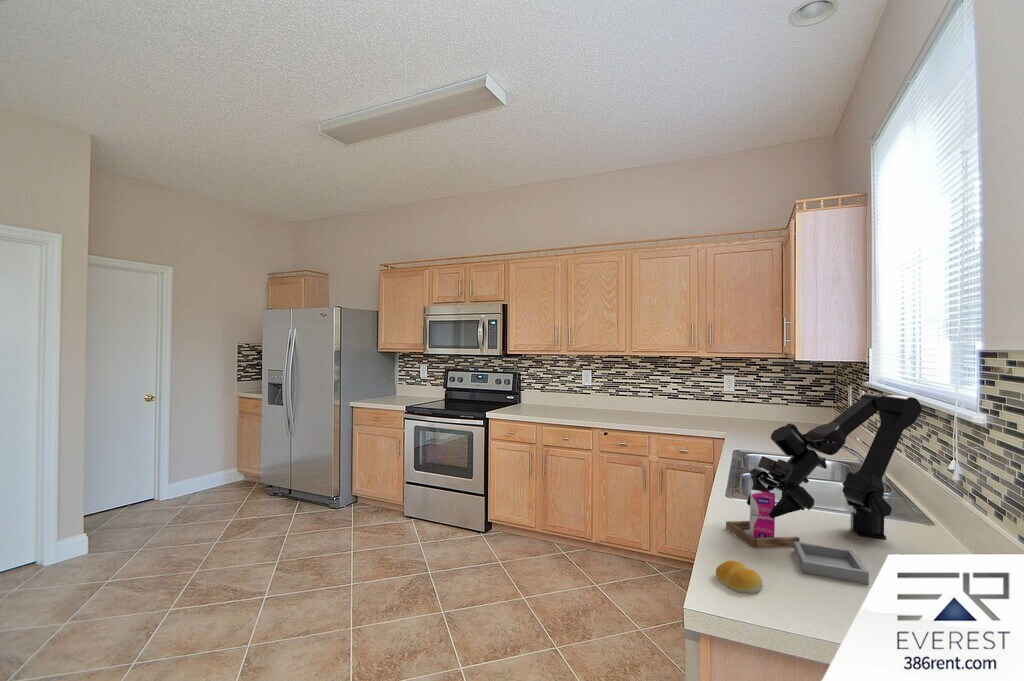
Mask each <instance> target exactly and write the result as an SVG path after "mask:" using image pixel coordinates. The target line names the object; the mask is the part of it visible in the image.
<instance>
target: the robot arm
mask: <svg viewBox="0 0 1024 681" xmlns="http://www.w3.org/2000/svg"><path fill="white" fill-rule="evenodd" d="M922 409H923V407H922V406H921V403H920V402H919V400H918V399H917V398H916V397H912V396H906V395H905V396H904V395H896V394H888V395H886V396H884V395H881V394H875V393H864V394H862V395H861V396H860V398H859V399H858V400H857V401H856V402H854V403H852V405H851V406H849V407H848V408H847V409H845V410H844V411H842V413H841V414H839V415H838V416H837V417H835V418H834V419H833V420H832V421H830V422H828V423H824V424H821V425H817V426H816V427H814V428H812V429H810V430H808V431H807V433H801V432H800V431H799V430H798V428H797V426H796V425H795V424H792V423H787V424H786V425H784V426H781V427H779V428H777V429H774V430H773V432H772V433H771V435H770V439H771V440H772V442H773V443H774V444H775V445H776V446H777V447H778V448H779V449H780V451H781V452H782V454H784V455H785V456H788V457H790V458H788V460H787V461H786V460H783V459H778V460H775V459H771V458H769V457H767V456H764V455H762V456H761V458H760V459H759V461H758V464H757V467H756V468H755V467H754V468H753V469H751V471H750V472H749V475H750V479H751V480H752V487H751V490H757V491H764V492H771V491H773V490H775V489H776V490H779V491H781V497H780V499H779V501H778V502H777V503H775V507H774V508H773V509H772V511H771V512H770V514H769V516H770V517H771V518H775V519H776V518H777V517H781V516H784V515H787V514H790V513H794V512H798V511H805V509H807V510H808V511H810V510H811V509H812V508H813V507H814V506H815V499H814V497H812V495H811V493H809V492H808V491H807V490H806V488H804V487H803V486H801V485H802V483H805V484H808V483H809V481H810V480H809V479H808V477H809V476H810V475H811V473H812V472H813V471H814V470H815V469H816V468H817V467H819V468H822V469H827V468H828V466H827V462H826V461H827V460H826V458H825V457H823V456H820V455H819V454H818V453H820V454H823V455H827V456H834V455H836V454H837V453H838V452H839V451H840V450H841V449H842V448H843V447H844V445H845V443H846V440H847V437H848V436H849V435H850V434H851V433H853V432H854V431H855V430H856V429H857V428H859V427H860V426H862V425H863V424H864V423H866V422H867V421H868V420H869V419H870V418H872V417H873V416H874V415H875V414H877V413H878V415H879V420H880V424H879V426H878V429H877V431H876V433H875V436H874V437H873V441H872V442H871V445H870V447H869V448H868V451H867V452H866V453H867V454H866V455H865V458H864V460H863V463H862V465H861V467H860V468H859V470H857V471H856V472H853V471H852V472H851V471H849V472H848V473H847V474H846V477H845V480H844V482H843V483H842V486H843V487H842V493H843V496H844V497H845V500H846V503H847V505H848V506H850V507H852V512H850V524H849V525H850V526H849V527H850V528H851V529H852V530H853V532H854V533H855V534H856V535H858V536H863V537H870V538H876V539H877V538H878V539H882V540H883V539H884V540H887V536H886V534H885V517H887V516H891V513H892V509H893V508H892V506H891V505H890V504H889V503H888V502H887V501H886V500H885V498H884V495H885V487H884V483H883V481H884V480H883V477H884V475H885V473H886V470H887V467H888V466H889V463H890V461H891V459H892V456H893V454H894V452H895V449H896V448H897V445H898V443H899V441H900V439H901V436H902V434H903V431H905V430H906V429H907V428H909V427H910V426H912V425H914V424H915V423H916V421H917V419H918V418H919V417H920V415H921V413H922ZM817 452H818V453H817ZM767 471H768V473H767ZM750 497H751V492H749V496H748V498H747V501H746V504H747V505H748V506H749V507H750Z"/></svg>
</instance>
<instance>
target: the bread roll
mask: <svg viewBox="0 0 1024 681" xmlns="http://www.w3.org/2000/svg"><path fill="white" fill-rule="evenodd" d="M715 575H716V578H717V580H718V581H719V582H720V583H721V584H723V585H725V586H726V587H728V588H729V589H730V590H732V591H734V592H738V593H744V594H757V593H758V592H760V591H761V590H762V589H763V579H762V577H761V575H760V574H759V573H758V572H757V571H755V570H753V569H749V568H748V567H747V566H746V565H745V564H743V563H742V562H740V561H736V560H726V561H723V562H721V563H720V564H719V565H718V566H716V569H715Z"/></svg>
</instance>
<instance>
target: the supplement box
mask: <svg viewBox="0 0 1024 681" xmlns="http://www.w3.org/2000/svg"><path fill="white" fill-rule="evenodd" d="M750 493H751V497H750V506H749V521H750V530H749V535H751V536H752V537H754V538H769V537H775V532H776V531H775V528H776V526H775V525H776V522H775V521H776V520H775V519H776V517H775V518H771V517H770V516H769V514H770V512H771V511H772V509H773V508H774V507H775V505H776V494H775V492H771V491H769V492H764V491H757V490H752V489H751V490H750Z"/></svg>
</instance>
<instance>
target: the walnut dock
mask: <svg viewBox="0 0 1024 681" xmlns="http://www.w3.org/2000/svg"><path fill="white" fill-rule="evenodd" d="M745 529H750V520H738V521H737V520H736V521H734V520H733V521H730V520H729V521H725V530H727V531H728V530H729V531H728V532H730V533H731V532H732V533H731V534H733V535H734V534H735V535H736V536H735V535H734V536H735V537H737V538H738V537H739V538H738V539H740V540H741V539H742V540H741V541H742V542H744V541H745V542H746V543H745V542H744V543H745V544H747V545H748V544H749V545H748V546H750V547H751V548H753V549H754V548H755V549H756V548H757V549H759V547H762V548H782V547H781V546H788V547H794V541H797V542H800V537H799V536H777V537H776V536H774V537H769V538H754V537H752V536H751V535H750V533H747V532H746V531H745ZM779 546H780V547H779Z"/></svg>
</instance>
